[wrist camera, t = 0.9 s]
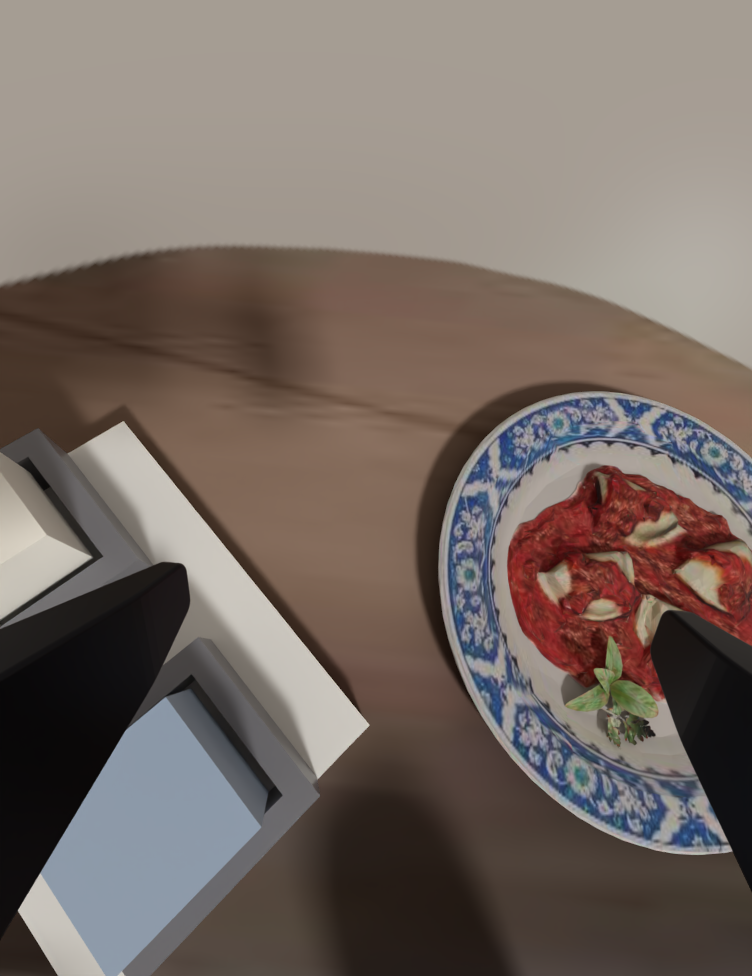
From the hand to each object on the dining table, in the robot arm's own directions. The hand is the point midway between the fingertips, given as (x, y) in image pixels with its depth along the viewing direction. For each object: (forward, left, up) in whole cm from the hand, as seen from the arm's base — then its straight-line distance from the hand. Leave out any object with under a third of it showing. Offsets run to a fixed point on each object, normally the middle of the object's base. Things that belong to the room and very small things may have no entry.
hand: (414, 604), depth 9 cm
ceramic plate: (+15, -10, -17) cm, 25 cm away
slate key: (-9, 0, -12) cm, 15 cm away
